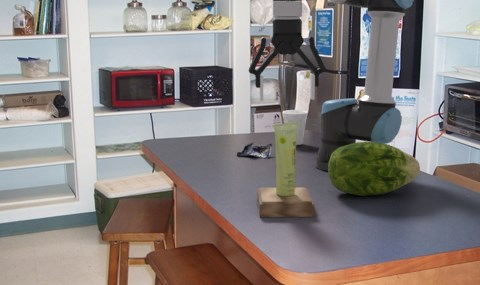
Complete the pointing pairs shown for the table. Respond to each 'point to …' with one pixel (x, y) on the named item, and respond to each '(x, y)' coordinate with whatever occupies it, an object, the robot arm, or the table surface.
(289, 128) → the tube
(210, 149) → the table surface
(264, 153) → the snack package
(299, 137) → the cup
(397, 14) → the robot arm
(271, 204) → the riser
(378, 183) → the lettuce
